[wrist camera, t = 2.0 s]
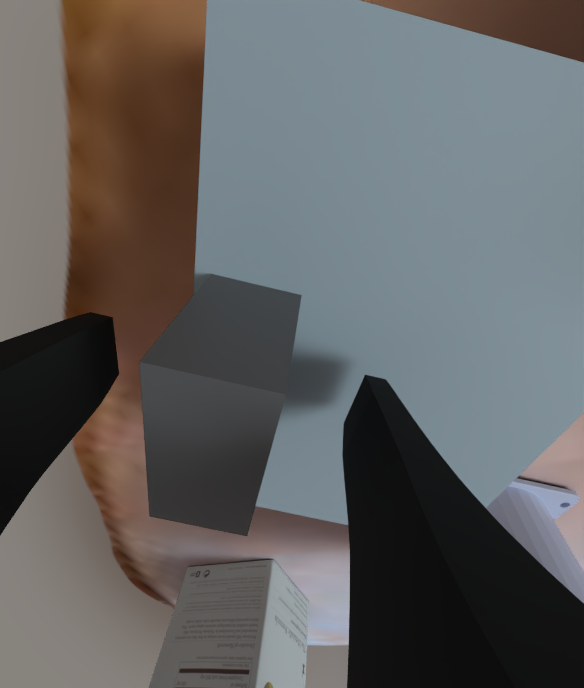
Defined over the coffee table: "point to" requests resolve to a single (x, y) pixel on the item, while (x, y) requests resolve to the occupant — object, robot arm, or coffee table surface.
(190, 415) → the lid flap
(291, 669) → the supplement box
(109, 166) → the coffee table surface
